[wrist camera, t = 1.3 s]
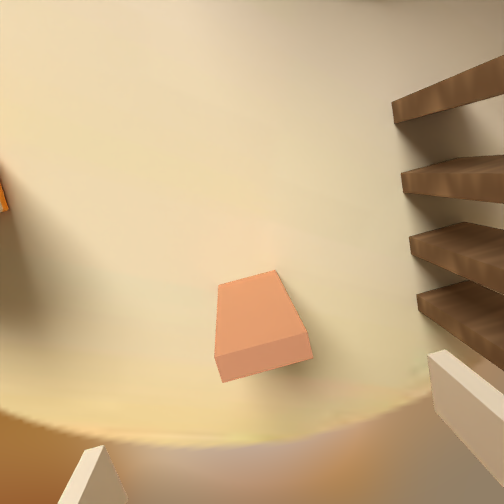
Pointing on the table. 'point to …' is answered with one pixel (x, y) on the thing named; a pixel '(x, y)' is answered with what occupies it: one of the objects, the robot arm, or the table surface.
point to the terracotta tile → (257, 328)
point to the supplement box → (2, 201)
